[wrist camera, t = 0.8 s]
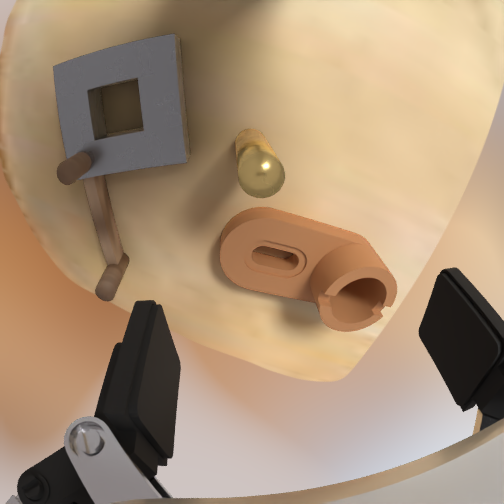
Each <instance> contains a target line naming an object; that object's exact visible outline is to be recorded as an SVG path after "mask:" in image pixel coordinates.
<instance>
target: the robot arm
mask: <svg viewBox="0 0 504 504" xmlns="http://www.w3.org/2000/svg"><path fill="white" fill-rule="evenodd" d="M419 337H420V339H421V340H422V342H423V344H424V345H425V347H426V349H427V350H428V352H429V354H430V356H431V357H432V359H433V361H434V363H435V365H436V367H437V368H438V370H439V372H440V374H441V376H442V377H443V379H444V381H445V383H446V385H447V387H448V388H449V391H450V392H451V394H452V396H453V398H454V400H455V402H456V404H457V405H459V406H461V409H462V411H463V412H464V411H466V410H468V409H470V408H473V407H474V406H475V404H477V406H478V411H477V417H476V422H475V426H474V431H473V435H472V436H470V437H468V438H466V439H464V440H462V441H460V442H458V443H456V444H453V445H451V446H449V447H447V448H444V449H442V450H440V451H438V452H435V453H433V454H430V455H428V456H425V457H423V458H421V459H418V460H415V461H412V462H410V463H407V464H404V465H401V466H398V467H395V468H393V469H389V470H386V471H383V472H380V473H376V474H373V475H370V476H366V477H362V478H359V479H354V480H350V481H346V482H342V483H338V484H333V485H328V486H323V487H318V488H313V489H307V490H301V491H294V492H288V493H279V494H270V495H260V496H248V497H233V498H179V499H178V498H173V497H172V496H171V495H170V494H169V493H168V491H167V490H166V489H165V488H164V487H163V485H162V484H161V483H160V482H159V481H158V479H157V478H156V477H155V475H157V467H158V465H159V466H167V458H172V456H173V448H174V435H175V421H176V411H177V400H178V389H179V379H180V369H181V367H180V360H179V357H178V354H177V351H176V348H175V346H174V343H173V339H172V336H171V334H170V330H169V327H168V324H167V321H166V318H165V315H164V312H163V308H162V306H161V305H160V304H159V305H156V302H155V301H154V300H147V301H136V302H135V304H134V307H133V310H132V313H131V316H130V319H129V322H128V326H127V329H126V332H125V335H124V338H123V342H122V343H117V344H116V345H115V347H114V349H113V352H112V356H111V359H110V362H109V365H108V368H107V372H106V376H105V379H104V382H103V386H102V389H101V393H100V396H99V400H98V404H97V408H96V411H95V415H94V417H91V416H90V417H82V418H80V419H77V420H76V421H74V422H73V423H72V424H71V425H70V426H69V427H68V429H67V431H66V433H65V436H64V445H65V446H64V447H63V448H61V449H60V450H58V451H56V452H55V453H53V454H52V455H50V456H49V457H47V458H45V459H44V460H42V461H41V462H39V463H38V464H36V465H34V466H33V467H31V468H29V469H28V470H26V471H25V472H24V473H23V474H22V475H21V476H20V478H19V480H18V485H17V492H18V495H17V496H16V497H15V496H14V495H12V496H11V498H10V499H9V500H8V501H7V503H6V504H504V321H503V320H502V319H501V317H500V316H499V315H498V314H497V312H496V311H495V310H494V309H493V308H492V306H491V305H490V304H489V303H488V302H487V300H486V299H485V298H484V297H483V296H482V295H481V293H480V292H479V291H478V290H477V289H476V288H475V287H474V285H473V284H472V283H471V282H470V281H469V280H468V279H467V278H466V277H465V276H464V275H463V274H462V273H461V271H460V270H459V269H457V268H450V269H444V270H442V271H441V272H440V274H439V275H438V276H437V279H436V282H435V285H434V288H433V291H432V294H431V297H430V300H429V303H428V306H427V308H426V311H425V314H424V317H423V320H422V322H421V325H420V327H419Z"/></svg>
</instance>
